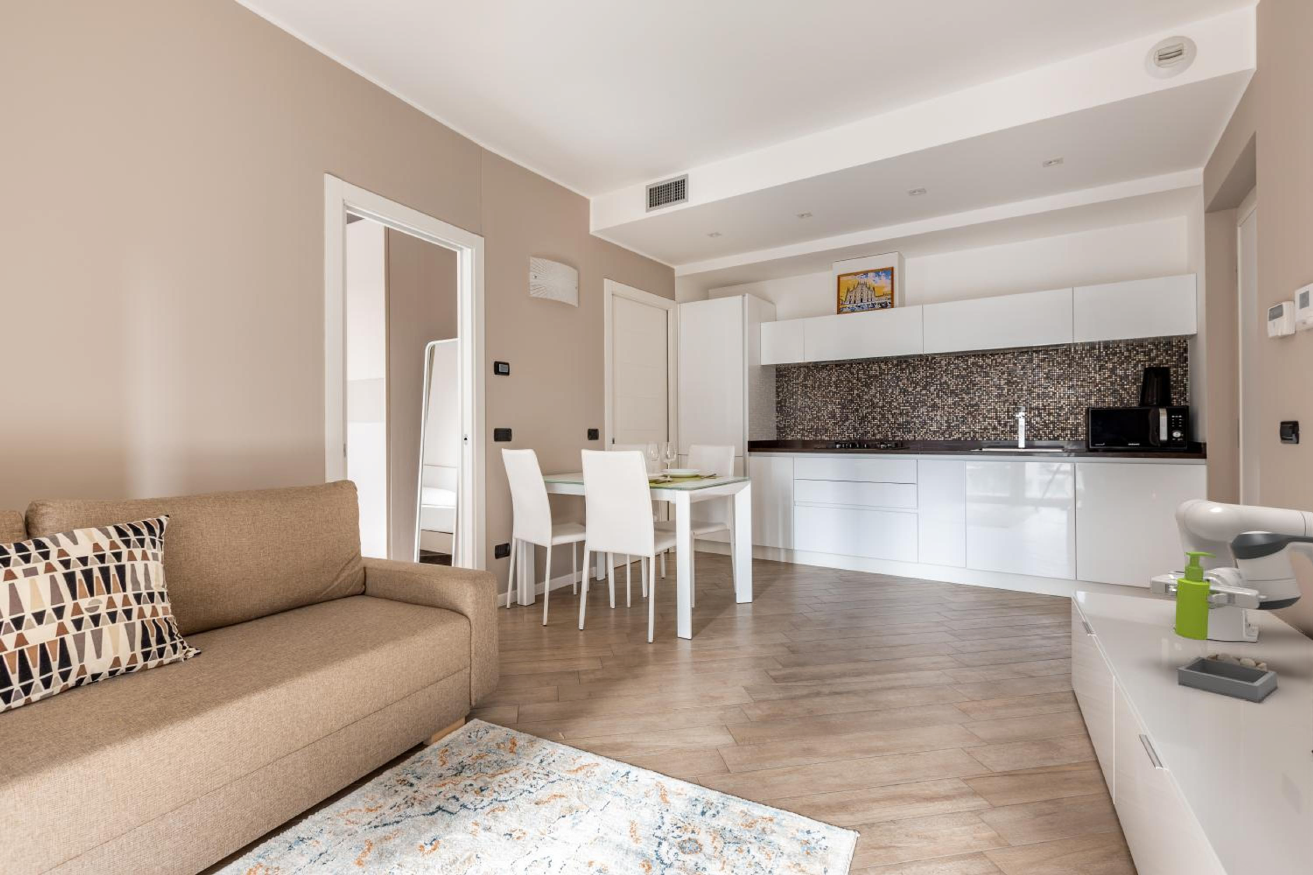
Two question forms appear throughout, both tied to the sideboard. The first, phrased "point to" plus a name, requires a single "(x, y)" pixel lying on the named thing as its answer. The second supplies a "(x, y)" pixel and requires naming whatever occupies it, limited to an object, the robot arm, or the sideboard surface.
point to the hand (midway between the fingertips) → (1191, 596)
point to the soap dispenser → (1193, 600)
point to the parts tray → (1258, 664)
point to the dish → (1228, 679)
